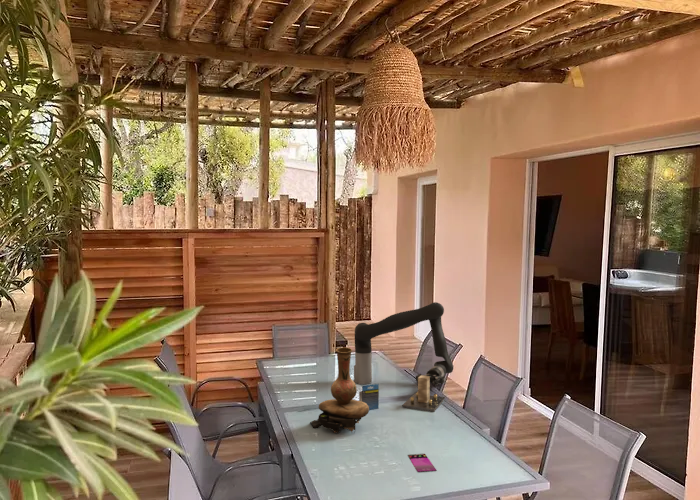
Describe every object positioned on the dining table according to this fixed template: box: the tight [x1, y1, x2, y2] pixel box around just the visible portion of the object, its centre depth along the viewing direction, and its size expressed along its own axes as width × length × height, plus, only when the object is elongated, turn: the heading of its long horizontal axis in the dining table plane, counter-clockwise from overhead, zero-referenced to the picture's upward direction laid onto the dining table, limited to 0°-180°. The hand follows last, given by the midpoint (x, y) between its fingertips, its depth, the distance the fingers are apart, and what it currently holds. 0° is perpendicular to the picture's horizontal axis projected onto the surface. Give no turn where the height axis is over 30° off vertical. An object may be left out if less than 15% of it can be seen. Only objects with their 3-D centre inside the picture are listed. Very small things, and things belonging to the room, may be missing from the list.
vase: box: [309, 347, 370, 434], centre depth 241 cm, size 24×22×35 cm
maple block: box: [417, 374, 431, 403], centre depth 271 cm, size 4×4×12 cm
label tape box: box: [358, 383, 380, 411], centre depth 264 cm, size 9×4×12 cm, turn 112°
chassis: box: [401, 391, 446, 413], centre depth 271 cm, size 16×20×4 cm
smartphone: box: [407, 453, 437, 473], centre depth 204 cm, size 7×15×1 cm, turn 8°
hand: (426, 382), depth 275 cm, fingers open, 8 cm apart
